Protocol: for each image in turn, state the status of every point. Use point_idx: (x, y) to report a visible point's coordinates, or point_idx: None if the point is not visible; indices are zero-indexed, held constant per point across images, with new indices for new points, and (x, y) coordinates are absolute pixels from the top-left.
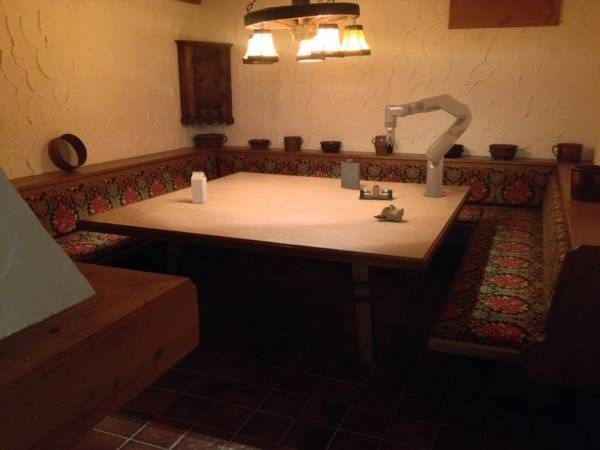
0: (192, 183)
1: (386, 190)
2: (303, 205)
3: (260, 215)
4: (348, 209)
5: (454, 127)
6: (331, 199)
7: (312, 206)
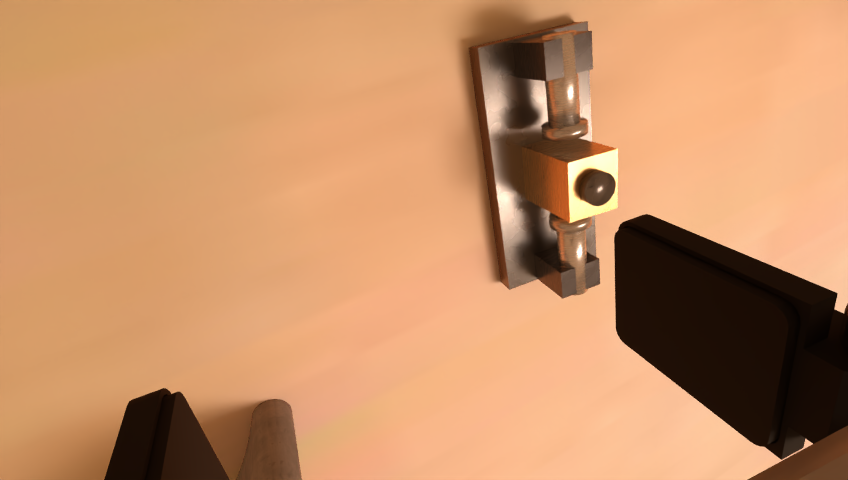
0: None
1: (578, 88)
2: None
3: None
4: (790, 201)
5: None
6: (601, 381)
7: None
